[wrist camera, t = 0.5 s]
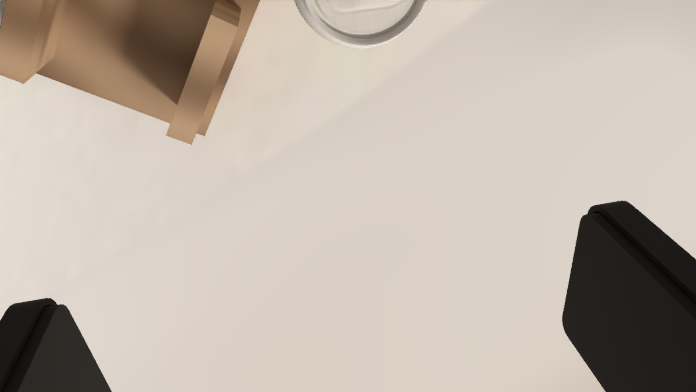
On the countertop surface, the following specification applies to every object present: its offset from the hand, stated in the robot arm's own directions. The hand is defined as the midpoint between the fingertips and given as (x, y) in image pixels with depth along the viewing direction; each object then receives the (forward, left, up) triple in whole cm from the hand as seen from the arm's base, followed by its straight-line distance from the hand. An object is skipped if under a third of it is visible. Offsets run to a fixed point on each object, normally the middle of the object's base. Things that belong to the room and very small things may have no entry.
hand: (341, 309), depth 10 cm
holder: (+6, -8, -30) cm, 31 cm away
